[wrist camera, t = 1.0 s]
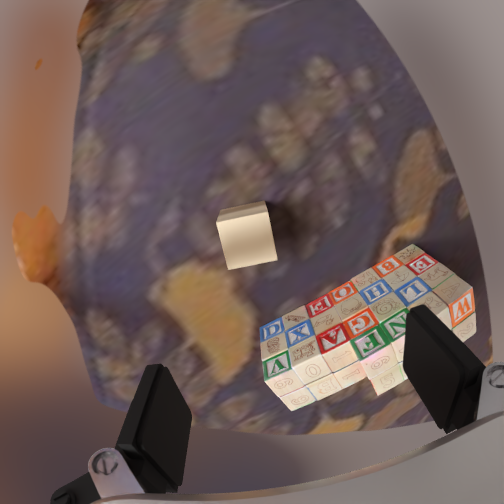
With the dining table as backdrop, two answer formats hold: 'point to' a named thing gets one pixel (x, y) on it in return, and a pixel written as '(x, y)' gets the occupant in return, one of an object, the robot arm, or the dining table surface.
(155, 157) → the dining table surface
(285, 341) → the stack of blocks
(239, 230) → the tan metal block
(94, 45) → the dining table surface
